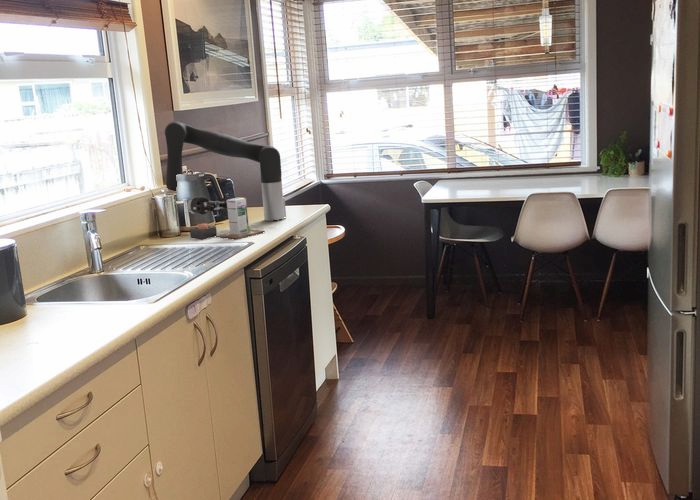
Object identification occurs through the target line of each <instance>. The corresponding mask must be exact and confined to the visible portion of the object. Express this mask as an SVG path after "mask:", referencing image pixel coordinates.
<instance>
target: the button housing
mask: <svg viewBox="0 0 700 500" xmlns="http://www.w3.org/2000/svg"><path fill="white" fill-rule="evenodd" d="M189 234H190V239H193V240H201V241H204V240H207V238H208V239H211V237H212V238H216V237H215V236H216V235H218V233H217V227H216V226H211V225H208V228H206V229H198V228H197V226H196V227H192V228H189Z"/></svg>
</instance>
